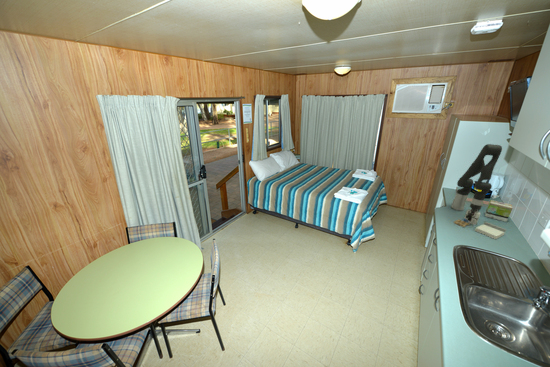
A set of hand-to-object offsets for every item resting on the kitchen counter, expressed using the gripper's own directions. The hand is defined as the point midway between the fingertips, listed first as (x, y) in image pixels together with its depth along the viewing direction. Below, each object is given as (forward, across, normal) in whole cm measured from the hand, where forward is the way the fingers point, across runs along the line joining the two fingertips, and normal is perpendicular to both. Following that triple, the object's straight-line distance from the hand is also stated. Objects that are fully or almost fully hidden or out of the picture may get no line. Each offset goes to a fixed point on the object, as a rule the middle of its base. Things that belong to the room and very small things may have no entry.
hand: (470, 219), depth 198 cm
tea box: (+3, -32, +6) cm, 33 cm away
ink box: (+3, 0, 0) cm, 3 cm away
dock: (+3, +5, +16) cm, 17 cm away
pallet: (+3, +10, -2) cm, 11 cm away
